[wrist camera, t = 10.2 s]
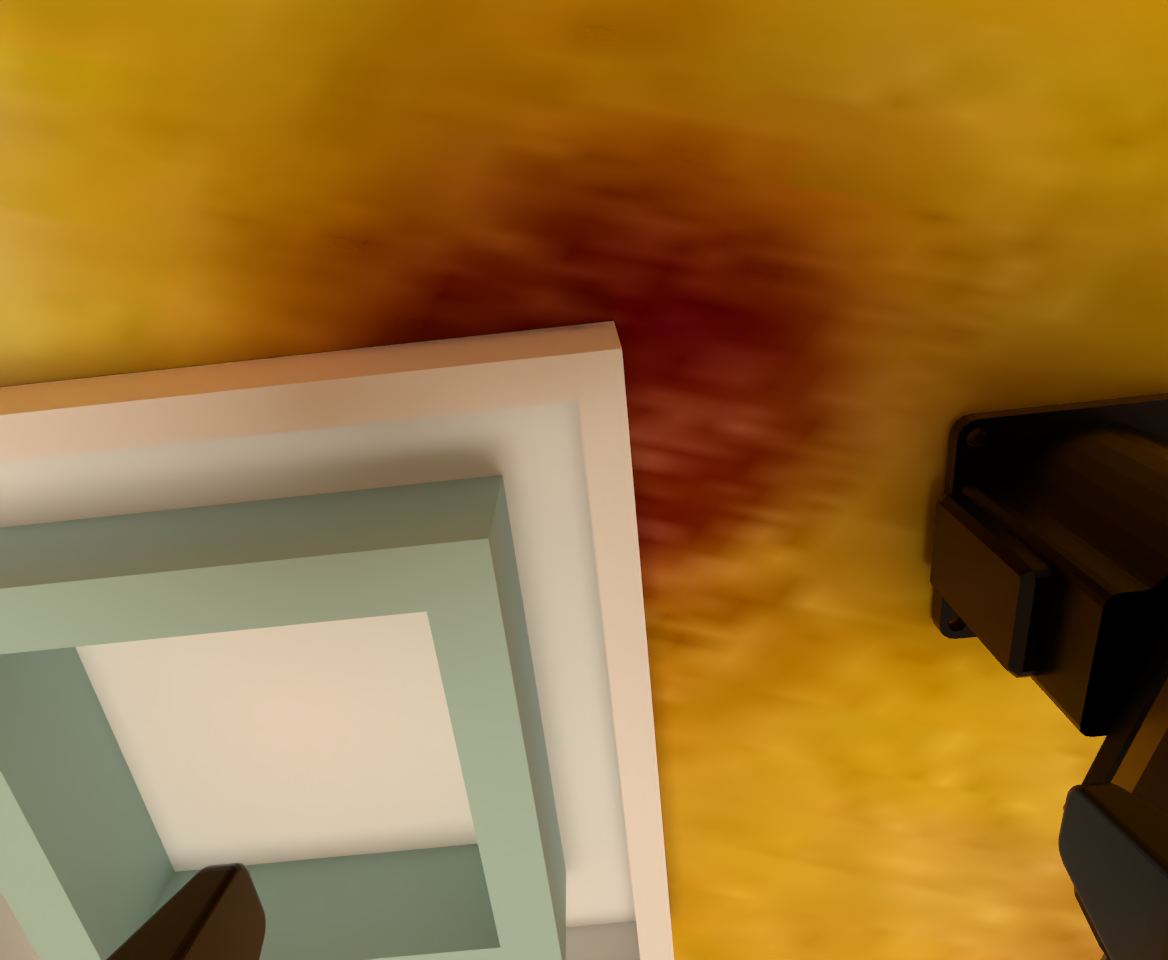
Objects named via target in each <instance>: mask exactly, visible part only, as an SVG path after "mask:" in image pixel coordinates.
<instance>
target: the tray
mask: <svg viewBox="0 0 1168 960" xmlns="http://www.w3.org/2000/svg"><path fill="white" fill-rule="evenodd" d="M495 475H503V482H504V488H505V494H506V500H507V507H508V513H509V519H510V525H511V532H512V538H513V544H514V550H515V557H516V563H517V569H518V575H519V582H520V588H521V594H522V600H523V606H524V613H525V619H526V625H527V631H528V638H529V644H530V650H531V656H532V663H533V669H534V675H535V681H536V688H537V694H538V700H539V706H540V712H541V719H542V725H543V731H544V737H545V744H546V750H547V756H548V762H549V769H550V775H551V781H552V787H553V794H554V800H555V806H556V812H557V819H558V825H559V831H560V837H561V843H562V850H563V856H564V862H565V868H566V960H674V954H673V942H672V930H671V919H670V907H669V895H668V883H667V872H666V860H665V848H664V836H663V825H662V813H661V801H660V789H659V778H658V766H657V754H656V742H655V731H654V719H653V707H652V695H651V684H650V672H649V660H648V648H647V637H646V625H645V613H644V601H643V590H642V578H641V566H640V554H639V543H638V531H637V519H636V507H635V496H634V484H633V472H632V460H631V449H630V437H629V425H628V413H627V402H626V390H625V378H624V366H623V355H622V347H621V344H620V340H619V337H618V333H617V330H616V327H615V323H614V321H608V322H599V323H590V324H580V325H571V326H562V327H553V328H543V329H534V330H525V331H516V332H506V333H497V334H488V335H478V336H469V337H460V338H451V339H441V340H432V341H423V342H414V343H404V344H395V345H386V346H377V347H367V348H358V349H349V350H340V351H330V352H321V353H312V354H303V355H293V356H284V357H275V358H265V359H256V360H247V361H238V362H228V363H219V364H210V365H201V366H191V367H182V368H173V369H164V370H154V371H145V372H136V373H127V374H117V375H108V376H99V377H90V378H80V379H71V380H62V381H52V382H43V383H34V384H25V385H15V386H6V387H0V527H10V526H19V525H29V524H38V523H48V522H57V521H67V520H76V519H86V518H95V517H105V516H115V515H124V514H134V513H143V512H153V511H162V510H172V509H181V508H191V507H200V506H210V505H219V504H229V503H238V502H248V501H257V500H267V499H276V498H286V497H295V496H305V495H314V494H324V493H333V492H343V491H352V490H362V489H371V488H381V487H390V486H400V485H409V484H419V483H428V482H438V481H448V480H457V479H467V478H476V477H486V476H495ZM75 648H76V650H77V652H78V655H79V657H80V659H81V661H82V664H83V666H84V668H85V670H86V673H87V675H88V677H89V679H90V682H91V684H92V686H93V688H94V691H95V693H96V695H97V697H98V700H99V702H100V704H101V706H102V709H103V711H104V713H105V715H106V718H107V720H108V722H109V724H110V727H111V729H112V731H113V733H114V736H115V738H116V740H117V742H118V745H119V747H120V749H121V751H122V754H123V756H124V758H125V760H126V763H127V765H128V767H129V769H130V772H131V774H132V776H133V778H134V781H135V783H136V785H137V787H138V790H139V792H140V794H141V796H142V799H143V801H144V803H145V806H146V808H147V810H148V812H149V815H150V817H151V819H152V821H153V824H154V826H155V828H156V830H157V833H158V835H159V837H160V839H161V842H162V844H163V846H164V848H165V851H166V853H167V855H168V857H169V860H170V862H171V864H172V866H173V869H174V871H175V872H179V871H189V870H200V869H203V868H205V867H207V866H210V865H217V864H228V863H242V864H243V865H254V864H264V863H275V862H286V861H297V860H307V859H318V858H329V857H339V856H350V855H361V854H372V853H382V852H393V851H404V850H414V849H425V848H436V847H447V846H457V845H468V844H478V843H477V838H476V833H475V829H474V824H473V820H472V815H471V811H470V806H469V802H468V797H467V793H466V788H465V783H464V779H463V774H462V770H461V765H460V761H459V756H458V752H457V747H456V742H455V738H454V733H453V729H452V724H451V720H450V715H449V711H448V706H447V702H446V697H445V692H444V688H443V683H442V679H441V674H440V670H439V665H438V661H437V656H436V652H435V647H434V642H433V638H432V633H431V629H430V624H429V620H428V615H427V611H426V612H416V613H406V614H396V615H386V616H376V617H366V618H356V619H346V620H337V621H327V622H317V623H307V624H297V625H287V626H277V627H267V628H257V629H247V630H237V631H228V632H218V633H208V634H198V635H188V636H178V637H168V638H158V639H148V640H138V641H128V642H119V643H109V644H99V645H89V646H79V647H75ZM0 960H40V958H39V957H38V955H37V953H36V951H35V950H34V948H33V946H32V945H31V943H30V941H29V939H28V938H27V936H26V934H25V932H24V931H23V929H22V927H21V926H20V924H19V922H18V920H17V919H16V917H15V915H14V913H13V912H12V910H11V908H10V907H9V905H8V903H7V901H6V900H5V898H4V896H3V894H2V893H1V891H0Z"/></svg>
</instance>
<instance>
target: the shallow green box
mask: <svg viewBox="0 0 1168 960" xmlns="http://www.w3.org/2000/svg"><path fill="white" fill-rule="evenodd" d="M426 611H427V615H428V620H429V624H430V629H431V633H432V638H433V642H434V647H435V652H436V656H437V661H438V665H439V670H440V674H441V679H442V683H443V688H444V692H445V697H446V702H447V706H448V711H449V715H450V720H451V724H452V729H453V733H454V738H455V742H456V747H457V752H458V756H459V761H460V765H461V770H462V774H463V779H464V783H465V788H466V793H467V797H468V802H469V806H470V811H471V815H472V820H473V824H474V829H475V833H476V838H477V843H478V844H468V845H457V846H447V847H436V848H425V849H414V850H404V851H393V852H382V853H372V854H361V855H350V856H339V857H329V858H318V859H307V860H297V861H286V862H275V863H264V864H254V865H245V866H246V867H247V868H248V870H249V872H250V875H251V878H252V880H253V883H254V885H255V888H256V891H257V893H258V896H259V898H260V901H261V903H262V906H263V909H264V912H265V917H266V931H265V937H264V942H263V946H262V951H261V955H260V959H259V960H566V868H565V862H564V856H563V850H562V843H561V837H560V831H559V825H558V819H557V812H556V806H555V800H554V794H553V787H552V781H551V775H550V769H549V762H548V756H547V750H546V744H545V737H544V731H543V725H542V719H541V712H540V706H539V700H538V694H537V688H536V681H535V675H534V669H533V663H532V656H531V650H530V644H529V638H528V631H527V625H526V619H525V613H524V606H523V600H522V594H521V588H520V582H519V575H518V569H517V563H516V557H515V550H514V544H513V538H512V532H511V525H510V519H509V513H508V507H507V500H506V494H505V488H504V482H503V475H495V476H486V477H476V478H467V479H457V480H448V481H438V482H428V483H419V484H409V485H400V486H390V487H381V488H371V489H362V490H352V491H343V492H333V493H324V494H314V495H305V496H295V497H286V498H276V499H267V500H257V501H248V502H238V503H229V504H219V505H210V506H200V507H191V508H181V509H172V510H162V511H153V512H143V513H134V514H124V515H115V516H105V517H95V518H86V519H76V520H67V521H57V522H48V523H38V524H29V525H19V526H10V527H0V891H1V893H2V894H3V896H4V898H5V900H6V901H7V903H8V905H9V907H10V908H11V910H12V912H13V913H14V915H15V917H16V919H17V920H18V922H19V924H20V926H21V927H22V929H23V931H24V932H25V934H26V936H27V938H28V939H29V941H30V943H31V945H32V946H33V948H34V950H35V951H36V953H37V955H38V957H39V958H40V960H106V959H107V958H108V957H109V956H110V955H111V954H112V953H113V952H114V951H115V950H116V949H117V948H118V947H120V946H121V945H122V944H123V943H124V942H125V941H126V940H127V939H128V938H129V937H130V936H131V935H132V934H133V933H134V932H135V931H136V930H137V929H138V928H140V927H141V926H142V925H143V924H144V923H145V922H146V921H147V920H148V919H149V918H150V917H151V916H152V915H153V914H154V913H155V912H156V911H157V910H158V909H160V908H161V907H162V906H163V905H164V904H165V903H166V902H167V901H168V900H169V899H170V898H171V897H172V896H173V895H174V894H175V893H176V892H177V891H178V890H180V889H181V888H182V887H183V886H184V885H185V884H186V883H187V882H188V881H189V880H190V879H191V878H192V877H193V876H194V875H195V874H196V873H198V872H199V871H200V870H201V869H200V870H189V871H179V872H175V871H174V869H173V866H172V864H171V862H170V860H169V857H168V855H167V853H166V851H165V848H164V846H163V844H162V842H161V839H160V837H159V835H158V833H157V830H156V828H155V826H154V824H153V821H152V819H151V817H150V815H149V812H148V810H147V808H146V806H145V803H144V801H143V799H142V796H141V794H140V792H139V790H138V787H137V785H136V783H135V781H134V778H133V776H132V774H131V772H130V769H129V767H128V765H127V763H126V760H125V758H124V756H123V754H122V751H121V749H120V747H119V745H118V742H117V740H116V738H115V736H114V733H113V731H112V729H111V727H110V724H109V722H108V720H107V718H106V715H105V713H104V711H103V709H102V706H101V704H100V702H99V700H98V697H97V695H96V693H95V691H94V688H93V686H92V684H91V682H90V679H89V677H88V675H87V673H86V670H85V668H84V666H83V664H82V661H81V659H80V657H79V655H78V652H77V650H76V648H75V647H79V646H89V645H99V644H109V643H119V642H128V641H138V640H148V639H158V638H168V637H178V636H188V635H198V634H208V633H218V632H228V631H237V630H247V629H257V628H267V627H277V626H287V625H297V624H307V623H317V622H327V621H337V620H346V619H356V618H366V617H376V616H386V615H396V614H406V613H416V612H426Z"/></svg>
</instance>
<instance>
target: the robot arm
mask: <svg viewBox="0 0 1168 960" xmlns="http://www.w3.org/2000/svg"><path fill="white" fill-rule="evenodd" d="M977 428H979V430H980V432H979V435H978V437H977V438H976V439H975V440H974V441H971V442H967V438H968V435H969V433H970V432H971V431H973V430H974V429H977ZM930 582H931V584H932V586H933V587H934V588H935V589H936V590H935V601H934V612H933V621H934V624H935V625H936V626H937V628H938V629H939V630H940V632H941V633H942V634H943V635H944V636H946V637H948V638H953V639H958V638H968V637H978V638H979V639H980V641H981V642H982V643H983V644H984V645H985V646H986V647H987V649H988V650H989V651H990V652H991V653H992V654H993V655H994V657H995V658H996V659H997V660H998V661H999V662H1000V663H1001V665H1002V666H1003V667H1004V668H1005V669H1006V670H1007V671H1009V672H1010V673H1011V674H1012V675H1014V676H1015V677H1016V678H1020V677H1031V678H1032V679H1033V680H1034V681H1035V682H1036V684H1037V685H1038V686H1039V687H1040V688H1041V689H1042V690H1043V691H1044V692H1045V693H1046V695H1047V696H1048V697H1049V698H1050V699H1051V700H1052V701H1053V702H1054V703H1055V704H1056V706H1057V707H1058V708H1059V709H1060V710H1061V711H1062V712H1063V713H1064V714H1065V715H1066V717H1067V718H1068V719H1069V720H1070V721H1071V722H1072V723H1073V724H1074V725H1075V726H1076V728H1077V729H1078V730H1079V731H1080V732H1081V733H1082V734H1084V735H1085V736H1090V737H1095V736H1106V735H1107V736H1106V738H1105V740H1104V742H1103V744H1102V746H1101V748H1100V750H1099V752H1098V754H1097V756H1096V758H1095V759H1094V761H1093V763H1092V765H1091V767H1090V769H1089V771H1088V773H1087V775H1086V777H1085V779H1084V781H1083V783H1082V785H1076V786H1073V787H1072V788H1071V789H1070V790H1069V791H1068V794H1067V798H1066V803H1065V805H1064V807H1063V809H1064V813H1063V818H1062V823H1061V828H1060V833H1059V842H1058V843H1059V851H1060V855H1061V858H1062V861H1063V864H1064V866H1065V868H1066V870H1067V872H1068V874H1069V876H1070V878H1071V880H1072V882H1073V884H1074V893H1075V897H1076V899H1077V901H1078V903H1079V905H1080V907H1081V909H1082V911H1083V913H1084V915H1085V917H1086V919H1087V921H1088V923H1089V925H1090V928H1091V930H1092V932H1093V934H1094V936H1095V938H1096V940H1097V942H1098V944H1099V946H1100V947H1101V949H1102V950H1103V952H1104V955H1103V956H1102V958H1101V960H1168V394H1159V395H1149V396H1140V397H1130V398H1121V399H1111V400H1101V401H1092V402H1082V403H1072V404H1063V405H1053V406H1044V407H1034V408H1024V409H1015V410H1005V411H995V412H986V413H976V414H970V415H966V416H963V417H962V418H960V419H959V420H957V421H956V423H955V424H954V425H953V427H952V429H951V432H950V437H949V448H948V459H947V470H946V481H945V492H944V495H943V496H942V497H941V499H940V500H939V501H938V503H937V507H936V519H935V530H934V542H933V553H932V564H931V576H930ZM956 616H959V618H958V620H956V621H955V622H953V623H949V621H950V620H951V619H952V618H953V617H956ZM265 931H266V917H265V912H264V909H263V906H262V903H261V901H260V898H259V896H258V893H257V891H256V888H255V885H254V883H253V880H252V878H251V875H250V872H249V870H248V868H247V867H246V866H245V865H243V864H242V863H228V864H217V865H210V866H207V867H205V868H203V869H201V870H200V871H199V872H198V873H196V874H195V875H194V876H193V877H192V878H191V879H190V880H189V881H188V882H187V883H186V884H185V885H184V886H183V887H182V888H181V889H180V890H178V891H177V892H176V893H175V894H174V895H173V896H172V897H171V898H170V899H169V900H168V901H167V902H166V903H165V904H164V905H163V906H162V907H161V908H160V909H158V910H157V911H156V912H155V913H154V914H153V915H152V916H151V917H150V918H149V919H148V920H147V921H146V922H145V923H144V924H143V925H142V926H141V927H140V928H138V929H137V930H136V931H135V932H134V933H133V934H132V935H131V936H130V937H129V938H128V939H127V940H126V941H125V942H124V943H123V944H122V945H121V946H120V947H118V948H117V949H116V950H115V951H114V952H113V953H112V954H111V955H110V956H109V957H108V958H107V959H106V960H259V959H260V955H261V951H262V946H263V942H264V937H265Z"/></svg>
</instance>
